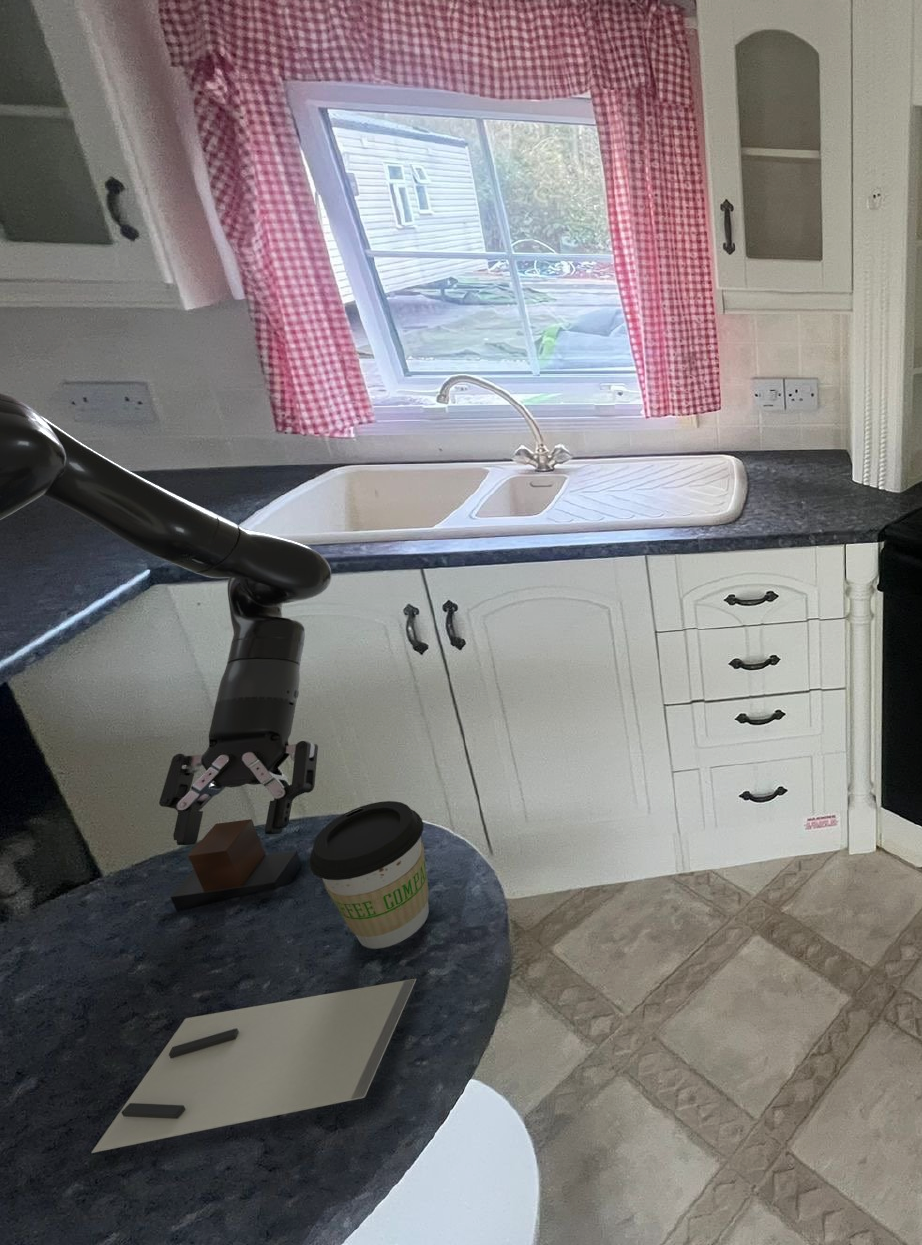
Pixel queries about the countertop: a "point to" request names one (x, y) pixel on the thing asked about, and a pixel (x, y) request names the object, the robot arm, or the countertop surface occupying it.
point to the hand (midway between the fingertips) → (230, 839)
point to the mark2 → (153, 1110)
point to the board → (266, 1062)
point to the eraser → (233, 867)
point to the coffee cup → (375, 871)
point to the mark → (203, 1043)
